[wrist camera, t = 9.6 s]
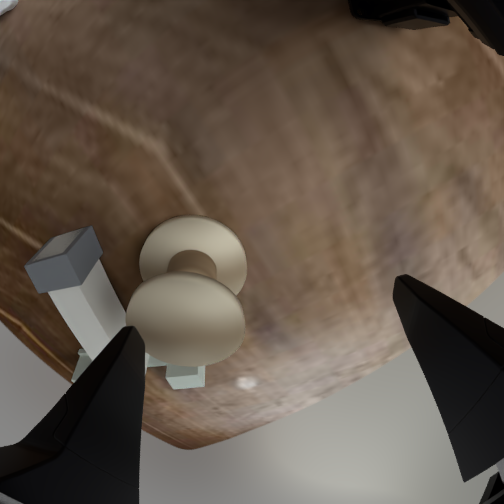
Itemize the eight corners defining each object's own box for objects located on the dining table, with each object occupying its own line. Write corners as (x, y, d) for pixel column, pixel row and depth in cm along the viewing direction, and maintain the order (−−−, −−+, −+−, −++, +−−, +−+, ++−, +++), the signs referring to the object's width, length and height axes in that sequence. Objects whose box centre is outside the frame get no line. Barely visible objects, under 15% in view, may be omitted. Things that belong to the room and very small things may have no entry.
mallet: (155, 354, 27) (147, 390, 23) (117, 357, 27) (107, 391, 23) (91, 225, 20) (66, 254, 16) (51, 237, 20) (23, 266, 16)
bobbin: (127, 228, 20) (94, 288, 14) (234, 204, 20) (238, 260, 14) (162, 309, 24) (149, 375, 19) (254, 293, 24) (263, 361, 18)
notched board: (79, 348, 27) (68, 377, 23) (197, 337, 27) (195, 371, 23) (92, 365, 28) (84, 393, 25) (206, 356, 28) (206, 389, 25)
